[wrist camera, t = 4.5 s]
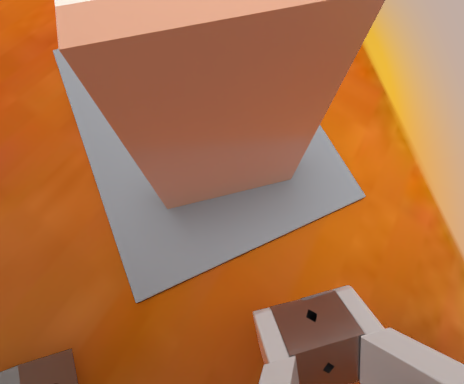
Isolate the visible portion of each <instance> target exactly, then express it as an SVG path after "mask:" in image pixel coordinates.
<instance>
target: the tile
mask: <svg viewBox="0 0 464 384" xmlns="http://www.w3.org/2000/svg"><path fill="white" fill-rule="evenodd" d="M384 1H385V0H55V11H56V23H57V35H58V47H59V51H60V52H61V54H62V55H63V57H64V58H65V60H66V61H67V62H68V64H69V65H70V67H71V68H72V70H73V71H74V73H75V74H76V76H77V77H78V79H79V80H80V82H81V83H82V85H83V86H84V87H85V89H86V90H87V92H88V93H89V95H90V96H91V98H92V99H93V101H94V102H95V104H96V105H97V107H98V108H99V109H100V111H101V112H102V114H103V115H104V117H105V118H106V120H107V121H108V123H109V124H110V126H111V127H112V129H113V130H114V131H115V133H116V134H117V136H118V137H119V139H120V140H121V142H122V143H123V145H124V146H125V148H126V149H127V151H128V152H129V154H130V155H131V156H132V158H133V159H134V161H135V162H136V164H137V165H138V167H139V168H140V170H141V171H142V173H143V174H144V176H145V177H146V178H147V180H148V181H149V183H150V184H151V186H152V187H153V189H154V190H155V192H156V193H157V195H158V196H159V198H160V199H161V201H162V202H163V203H164V205H165V206H166V208H167V209H171V208H175V207H179V206H183V205H187V204H191V203H195V202H200V201H204V200H208V199H212V198H216V197H220V196H224V195H228V194H233V193H237V192H241V191H245V190H249V189H253V188H257V187H261V186H266V185H270V184H274V183H278V182H282V181H286V180H290V179H291V178H292V176H293V174H294V173H295V171H296V169H297V167H298V165H299V163H300V161H301V159H302V157H303V155H304V154H305V152H306V150H307V148H308V146H309V144H310V142H311V140H312V138H313V136H314V135H315V133H316V131H317V129H318V127H319V125H320V123H321V121H322V119H323V117H324V115H325V114H326V112H327V110H328V108H329V106H330V104H331V102H332V100H333V98H334V96H335V95H336V93H337V91H338V89H339V87H340V85H341V83H342V81H343V79H344V77H345V76H346V74H347V72H348V70H349V68H350V66H351V64H352V62H353V60H354V58H355V56H356V55H357V53H358V51H359V49H360V47H361V45H362V43H363V41H364V39H365V37H366V36H367V34H368V32H369V30H370V28H371V26H372V24H373V22H374V20H375V18H376V16H377V14H378V13H379V11H380V9H381V7H382V5H383V3H384Z"/></svg>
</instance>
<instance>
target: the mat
mask: <svg viewBox="0 0 464 384" xmlns="http://www.w3.org/2000/svg"><path fill="white" fill-rule="evenodd" d="M53 53H54V56H55V59H56V62H57V65H58V68H59V71H60V74H61V77H62V80H63V83H64V86H65V89H66V92H67V95H68V98H69V101H70V104H71V107H72V110H73V113H74V116H75V120H76V123H77V126H78V129H79V132H80V135H81V138H82V141H83V144H84V147H85V150H86V153H87V156H88V159H89V162H90V165H91V168H92V171H93V174H94V177H95V180H96V183H97V186H98V189H99V193H100V196H101V199H102V202H103V205H104V208H105V211H106V214H107V217H108V220H109V223H110V226H111V229H112V232H113V235H114V238H115V241H116V244H117V247H118V250H119V253H120V256H121V259H122V262H123V266H124V269H125V272H126V275H127V278H128V281H129V284H130V287H131V290H132V293H133V296H134V299H135V302H136V303H139V302H141V301H143V300H145V299H148V298H150V297H152V296H154V295H156V294H158V293H160V292H163V291H165V290H167V289H169V288H171V287H173V286H175V285H178V284H180V283H182V282H184V281H186V280H188V279H191V278H193V277H195V276H197V275H199V274H201V273H203V272H206V271H208V270H210V269H212V268H214V267H216V266H218V265H221V264H223V263H225V262H227V261H229V260H231V259H234V258H236V257H238V256H240V255H242V254H244V253H246V252H249V251H251V250H253V249H255V248H257V247H259V246H261V245H264V244H266V243H268V242H270V241H272V240H274V239H277V238H279V237H281V236H283V235H285V234H287V233H289V232H292V231H294V230H296V229H298V228H300V227H302V226H304V225H307V224H309V223H311V222H313V221H315V220H317V219H320V218H322V217H324V216H326V215H328V214H330V213H332V212H335V211H337V210H339V209H341V208H343V207H345V206H347V205H350V204H352V203H354V202H356V201H358V200H360V199H362V198H364V197H366V196H365V194H364V193H363V191H362V190H361V188H360V186H359V185H358V183H357V182H356V180H355V179H354V177H353V176H352V174H351V172H350V171H349V169H348V168H347V166H346V165H345V163H344V161H343V160H342V158H341V157H340V155H339V154H338V152H337V151H336V149H335V147H334V146H333V144H332V143H331V141H330V140H329V138H328V137H327V135H326V133H325V132H324V130H323V129H322V127H321V126H320V125H319V127H318V129H317V131H316V133H315V135H314V136H313V138H312V140H311V142H310V144H309V146H308V148H307V150H306V152H305V154H304V155H303V157H302V159H301V161H300V163H299V165H298V167H297V169H296V171H295V173H294V174H293V176H292V178H291V179H290V180H286V181H282V182H278V183H274V184H270V185H266V186H261V187H257V188H253V189H249V190H245V191H241V192H237V193H233V194H228V195H224V196H220V197H216V198H212V199H208V200H204V201H200V202H195V203H191V204H187V205H183V206H179V207H175V208H171V209H167V208H166V206H165V205H164V203H163V202H162V201H161V199H160V198H159V196H158V195H157V193H156V192H155V190H154V189H153V187H152V186H151V184H150V183H149V181H148V180H147V178H146V177H145V176H144V174H143V173H142V171H141V170H140V168H139V167H138V165H137V164H136V162H135V161H134V159H133V158H132V156H131V155H130V154H129V152H128V151H127V149H126V148H125V146H124V145H123V143H122V142H121V140H120V139H119V137H118V136H117V134H116V133H115V131H114V130H113V129H112V127H111V126H110V124H109V123H108V121H107V120H106V118H105V117H104V115H103V114H102V112H101V111H100V109H99V108H98V107H97V105H96V104H95V102H94V101H93V99H92V98H91V96H90V95H89V93H88V92H87V90H86V89H85V87H84V86H83V85H82V83H81V82H80V80H79V79H78V77H77V76H76V74H75V73H74V71H73V70H72V68H71V67H70V65H69V64H68V62H67V61H66V60H65V58H64V57H63V55H62V54H61V52H60V51H59V49H57V50H53Z"/></svg>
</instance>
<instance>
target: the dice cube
mask: <svg viewBox="0 0 464 384" xmlns="http://www.w3.org/2000/svg"><path fill="white" fill-rule="evenodd" d="M0 384H78V380H77V375H76V369H75V364H74V358H73V353H72V348H71V349H68V350H65V351H62V352H59V353H56V354H52V355H49V356H46V357H43V358H40V359H36V360H33V361H30V362H27V363H24V364H20V365H17V366H15V367H12V368H10V369H7V370H5V371H2V372H0Z"/></svg>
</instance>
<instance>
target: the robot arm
mask: <svg viewBox="0 0 464 384" xmlns="http://www.w3.org/2000/svg"><path fill="white" fill-rule="evenodd" d="M253 318H254V323H255V328H256V333H257V338H258V342H259V346H260V350H261V354H262V358H263V361H264V366H263V369H262V373H261V376H260V380H259V384H350V383H354V382H357V381H360V383H361V384H464V364H462V363H460V362H458V361H456V360H454V359H452V358H450V357H448V356H446V355H444V354H442V353H440V352H438V351H436V350H434V349H432V348H430V347H428V346H426V345H424V344H422V343H420V342H418V341H416V340H414V339H412V338H410V337H408V336H406V335H404V334H402V333H400V332H398V331H396V330H394V329H392V328H386V329H385V328H384V327H383V326H382V324H381V323H380V322H379V321H378V319H377V318H376V317H375V316H374V314H373V313H372V312H371V311H370V309H369V308H368V307H367V305H366V304H365V303H364V302H363V300H362V299H361V298H360V297H359V295H358V294H357V293H356V292H355V290H354V289H353V288H352V287H351V286H349V285H347V286H343V287H340V288H336V289H333V290H328V291H325V292H322V293H318V294H315V295H311V296H308V297H304V298H301V299H299V300H295V301H291V302H287V303H283V304H279V305H275V306H271V307H270V308H269V307H268V308H264V309H260V310H257V311H253Z"/></svg>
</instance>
